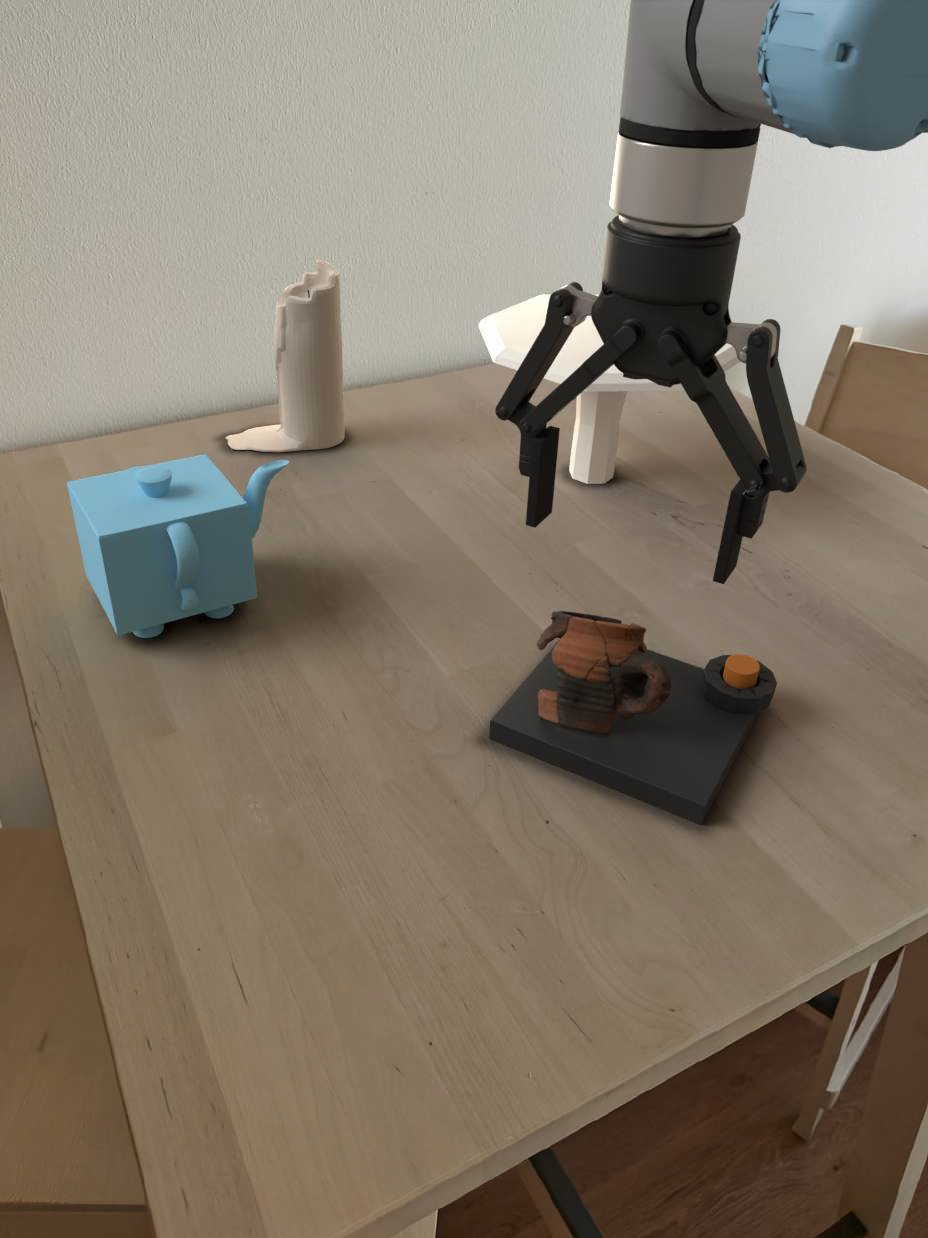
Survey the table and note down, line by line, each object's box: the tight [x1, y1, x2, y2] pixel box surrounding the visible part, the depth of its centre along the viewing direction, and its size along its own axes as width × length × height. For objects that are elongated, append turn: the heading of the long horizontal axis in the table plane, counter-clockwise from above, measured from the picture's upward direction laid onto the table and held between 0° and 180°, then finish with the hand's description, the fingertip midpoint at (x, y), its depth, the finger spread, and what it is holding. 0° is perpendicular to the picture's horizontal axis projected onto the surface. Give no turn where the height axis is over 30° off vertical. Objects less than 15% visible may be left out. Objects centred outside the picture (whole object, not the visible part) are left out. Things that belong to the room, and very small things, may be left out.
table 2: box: [477, 293, 742, 485], centre depth 110 cm, size 28×28×17 cm
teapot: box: [66, 453, 290, 639], centre depth 88 cm, size 18×16×13 cm
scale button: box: [723, 653, 760, 689], centre depth 79 cm, size 3×3×2 cm
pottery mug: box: [536, 610, 671, 733], centre depth 77 cm, size 12×10×8 cm
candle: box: [225, 259, 346, 453], centre depth 113 cm, size 7×14×20 cm, turn 105°
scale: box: [488, 638, 778, 825], centre depth 79 cm, size 18×16×4 cm
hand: (628, 545), depth 69 cm, fingers open, 13 cm apart
